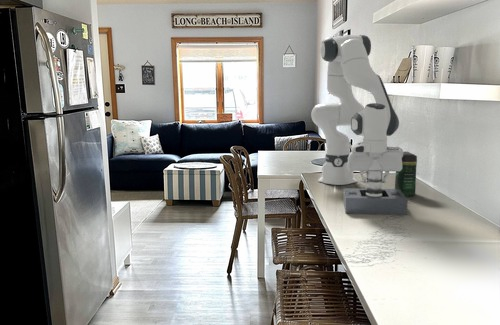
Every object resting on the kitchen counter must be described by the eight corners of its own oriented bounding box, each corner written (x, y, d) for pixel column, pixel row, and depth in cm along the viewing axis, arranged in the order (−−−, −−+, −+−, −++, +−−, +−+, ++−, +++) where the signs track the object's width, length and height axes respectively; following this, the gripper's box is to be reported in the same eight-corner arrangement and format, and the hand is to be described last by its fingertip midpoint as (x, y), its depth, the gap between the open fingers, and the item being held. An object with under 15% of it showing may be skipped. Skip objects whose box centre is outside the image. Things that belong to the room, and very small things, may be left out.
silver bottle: (376, 207, 160) (377, 155, 156) (361, 204, 165) (362, 153, 162) (386, 204, 164) (387, 153, 160) (371, 201, 169) (372, 151, 166)
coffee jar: (417, 196, 179) (419, 153, 176) (398, 197, 180) (400, 154, 177) (410, 191, 189) (412, 150, 186) (392, 191, 190) (394, 150, 186)
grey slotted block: (343, 202, 174) (343, 187, 173) (399, 203, 170) (399, 188, 169) (345, 213, 159) (345, 197, 158) (406, 214, 156) (407, 198, 155)
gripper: (401, 145, 162) (400, 180, 164) (347, 145, 165) (346, 180, 168) (405, 148, 156) (403, 184, 158) (348, 148, 159) (347, 183, 162)
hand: (373, 182), depth 163 cm, fingers closed on silver bottle, 6 cm apart
